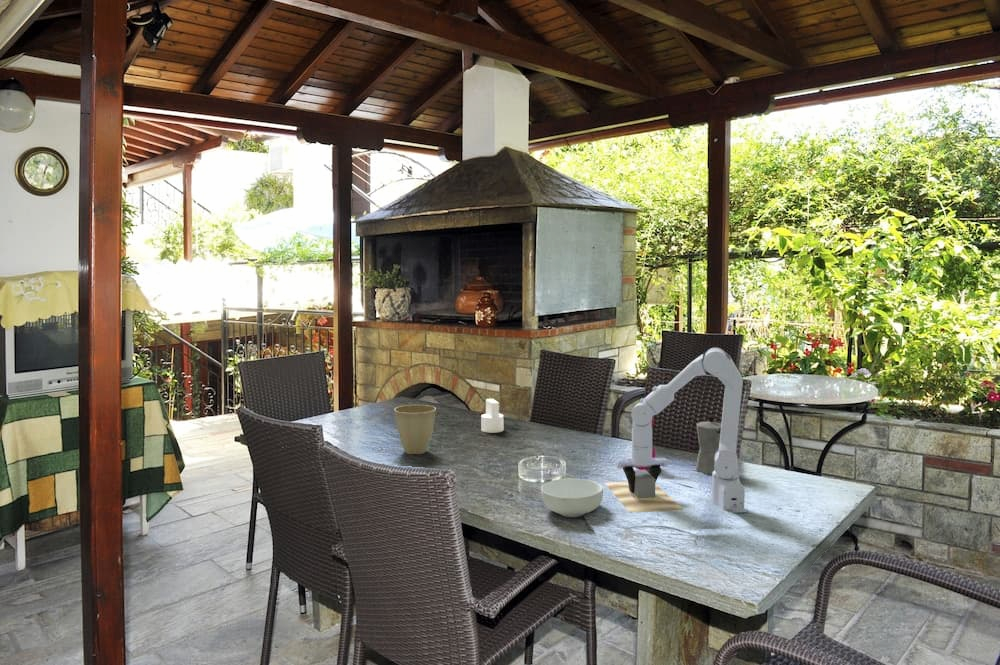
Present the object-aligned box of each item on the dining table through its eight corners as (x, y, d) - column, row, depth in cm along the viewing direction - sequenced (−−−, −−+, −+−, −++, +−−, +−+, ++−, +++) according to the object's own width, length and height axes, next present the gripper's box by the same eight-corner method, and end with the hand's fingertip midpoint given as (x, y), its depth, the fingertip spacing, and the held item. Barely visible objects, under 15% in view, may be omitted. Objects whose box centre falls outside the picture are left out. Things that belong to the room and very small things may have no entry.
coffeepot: (686, 465, 237) (687, 412, 235) (712, 463, 240) (713, 411, 238) (711, 479, 222) (712, 423, 221) (738, 477, 225) (739, 421, 223)
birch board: (683, 514, 193) (683, 509, 193) (629, 516, 191) (629, 512, 191) (651, 484, 218) (651, 480, 218) (604, 486, 217) (604, 482, 216)
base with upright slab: (478, 428, 292) (478, 399, 291) (499, 426, 295) (499, 398, 294) (484, 433, 284) (484, 403, 283) (506, 431, 287) (506, 402, 285)
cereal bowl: (564, 497, 207) (564, 474, 206) (614, 510, 196) (614, 485, 196) (528, 514, 194) (528, 488, 193) (580, 528, 183) (580, 501, 183)
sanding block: (655, 499, 201) (655, 479, 200) (637, 500, 200) (638, 479, 199) (644, 489, 209) (645, 469, 209) (628, 490, 209) (628, 470, 208)
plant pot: (416, 460, 247) (415, 414, 245) (386, 453, 256) (385, 409, 254) (445, 450, 259) (444, 407, 257) (415, 444, 268) (414, 402, 266)
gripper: (661, 440, 208) (661, 485, 209) (613, 442, 206) (613, 488, 208) (670, 446, 201) (669, 493, 203) (620, 448, 199) (619, 496, 201)
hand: (641, 491), depth 205 cm, fingers closed on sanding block, 5 cm apart
